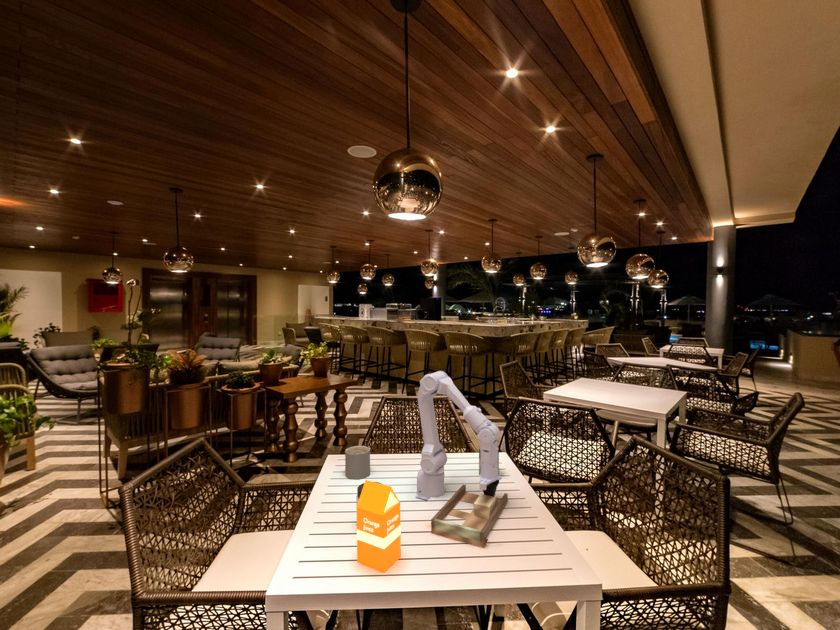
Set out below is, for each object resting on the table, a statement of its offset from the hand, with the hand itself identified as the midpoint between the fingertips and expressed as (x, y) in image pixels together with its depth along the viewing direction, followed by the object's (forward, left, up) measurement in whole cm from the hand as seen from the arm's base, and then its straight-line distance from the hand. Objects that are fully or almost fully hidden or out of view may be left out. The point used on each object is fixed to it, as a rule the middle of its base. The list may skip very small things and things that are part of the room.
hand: (489, 503), depth 123 cm
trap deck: (-4, -7, -2) cm, 8 cm away
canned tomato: (-9, +27, -3) cm, 28 cm away
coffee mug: (-57, +6, -3) cm, 57 cm away
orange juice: (-19, -37, -3) cm, 42 cm away
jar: (-30, -25, -3) cm, 39 cm away
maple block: (0, -5, -1) cm, 5 cm away
